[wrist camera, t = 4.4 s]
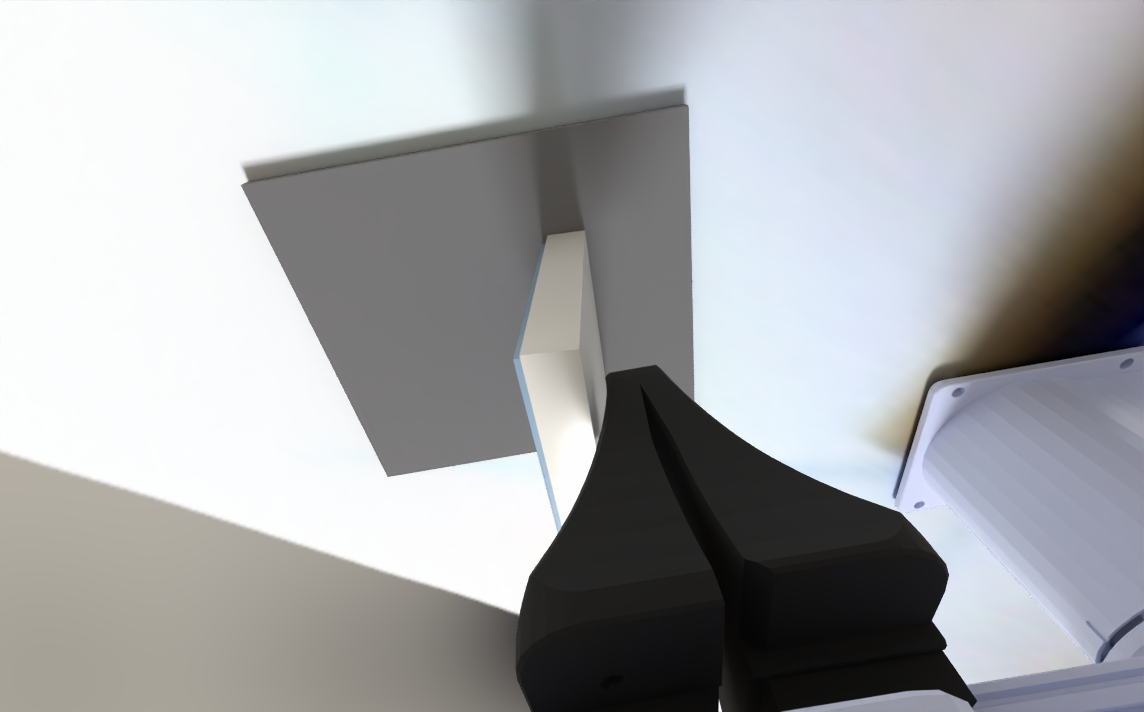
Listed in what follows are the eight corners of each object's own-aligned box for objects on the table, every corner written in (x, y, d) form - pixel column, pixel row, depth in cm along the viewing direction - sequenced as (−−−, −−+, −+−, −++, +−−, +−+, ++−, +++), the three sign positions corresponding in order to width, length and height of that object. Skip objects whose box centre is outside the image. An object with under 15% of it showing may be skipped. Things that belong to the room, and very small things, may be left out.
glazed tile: (584, 230, 15) (579, 349, 10) (606, 382, 19) (611, 541, 13) (541, 235, 16) (509, 356, 10) (569, 386, 19) (559, 544, 13)
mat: (684, 104, 14) (688, 105, 14) (691, 418, 21) (694, 424, 20) (247, 181, 14) (241, 185, 14) (390, 469, 21) (387, 476, 20)
